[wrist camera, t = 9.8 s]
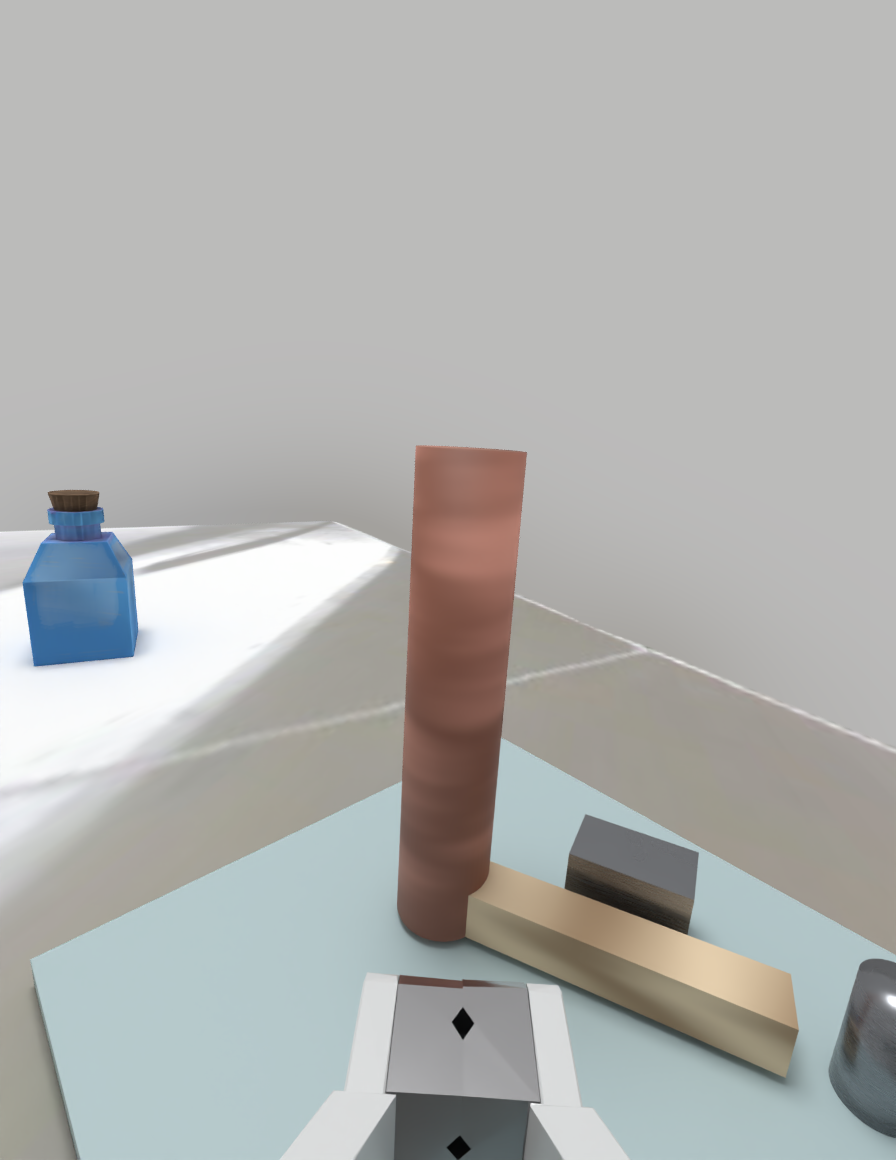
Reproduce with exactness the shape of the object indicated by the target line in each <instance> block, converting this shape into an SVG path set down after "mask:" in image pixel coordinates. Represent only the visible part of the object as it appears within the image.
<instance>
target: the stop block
mask: <svg viewBox="0 0 896 1160" xmlns="http://www.w3.org/2000/svg"><path fill="white" fill-rule="evenodd" d="M698 857H699V852H696V851H693V850H690V849H687V848H684V847H681V846H679V845H676V844H673V843H670V842H667V841H664V840H661V839H658V838H655V837H652V836H649V835H646V834H643V833H640V832H637V831H634V830H631V829H628V828H625V827H622V826H619V825H616V824H614V823H611V822H608V821H605V820H602V819H599V818H596V817H593V816H590V815H587V814H585V816H584V819H583V821H582V823H581V826H580V828H579V831H578V833H577V835H576V838H575V840H574V843H573V845H572V847H571V850H570V852H569V858H568V865H567V873H566V880H565V888H564V889H566V890H569V891H571V892H574V893H577V894H579V895H582V896H585V897H587V898H590V899H593V900H595V901H598V902H601V903H603V904H606V905H609V906H611V907H614V908H617V909H619V910H622V911H625V912H627V913H630V914H633V915H635V916H638V917H641V918H643V919H646V920H649V921H651V922H654V923H656V924H659V925H662V926H664V927H667V928H670V929H672V930H675V931H678V932H680V933H683V934H686V935H687V934H688V929H689V924H690V919H691V914H692V910H693V905H694V899H695V889H696V878H697V868H698Z"/></svg>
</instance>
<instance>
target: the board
mask: <svg viewBox="0 0 896 1160" xmlns="http://www.w3.org/2000/svg"><path fill="white" fill-rule="evenodd" d="M401 795H402V781H401V782H399V783H397V784H395V785H393V786H391V787H389V788H386V789H384V790H382V791H380V792H378V793H376V794H374V795H372V796H370V797H368V798H366V799H364V800H362V801H359V802H357V803H355V804H353V805H351V806H349V807H347V808H345V809H343V810H341V811H339V812H337V813H334V814H332V815H330V816H328V817H326V818H324V819H322V820H320V821H318V822H316V823H314V824H312V825H309V826H307V827H305V828H303V829H301V830H299V831H297V832H295V833H293V834H291V835H289V836H287V837H284V838H282V839H280V840H278V841H276V842H274V843H272V844H270V845H268V846H266V847H264V848H262V849H259V850H257V851H255V852H253V853H251V854H249V855H247V856H245V857H243V858H241V859H239V860H237V861H235V862H232V863H230V864H228V865H226V866H224V867H222V868H220V869H218V870H216V871H214V872H212V873H210V874H207V875H205V876H203V877H201V878H199V879H197V880H195V881H193V882H191V883H189V884H187V885H185V886H182V887H180V888H178V889H176V890H174V891H172V892H170V893H168V894H166V895H164V896H162V897H160V898H157V899H155V900H153V901H151V902H149V903H147V904H145V905H143V906H141V907H139V908H137V909H135V910H133V911H130V912H128V913H126V914H124V915H122V916H120V917H118V918H116V919H114V920H112V921H110V922H108V923H105V924H103V925H101V926H99V927H97V928H95V929H93V930H91V931H89V932H87V933H85V934H83V935H80V936H78V937H76V938H74V939H72V940H70V941H68V942H66V943H64V944H62V945H60V946H58V947H55V948H53V949H51V950H49V951H47V952H45V953H43V954H41V955H39V956H37V957H35V958H33V959H30V961H31V967H32V973H33V979H34V985H35V989H36V993H37V997H38V1001H39V1005H40V1009H41V1014H42V1018H43V1022H44V1026H45V1030H46V1034H47V1038H48V1042H49V1046H50V1050H51V1054H52V1058H53V1062H54V1066H55V1070H56V1074H57V1078H58V1082H59V1086H60V1090H61V1094H62V1098H63V1102H64V1106H65V1110H66V1114H67V1118H68V1122H69V1127H70V1131H71V1135H72V1139H73V1143H74V1147H75V1151H76V1155H77V1159H78V1160H280V1158H281V1157H282V1156H283V1155H284V1153H285V1152H286V1151H287V1149H288V1148H289V1147H290V1146H291V1144H292V1143H293V1142H294V1140H295V1139H296V1138H297V1137H298V1135H299V1134H300V1133H301V1131H302V1130H303V1129H304V1128H305V1126H306V1125H307V1124H308V1122H309V1121H310V1120H311V1119H312V1117H313V1116H314V1115H315V1113H316V1112H317V1111H318V1110H319V1108H320V1107H321V1106H322V1104H323V1103H324V1102H325V1101H326V1099H327V1098H328V1097H329V1095H330V1094H331V1093H332V1092H333V1090H341V1091H344V1087H345V1081H346V1076H347V1070H348V1065H349V1059H350V1054H351V1048H352V1043H353V1037H354V1032H355V1026H356V1021H357V1015H358V1009H359V1004H360V998H361V993H362V987H363V983H364V980H365V977H366V974H367V972H369V973H382V974H394V975H399V976H400V975H408V976H418V977H428V978H439V979H449V980H460V981H462V979H465V980H486V981H506V982H524V983H525V984H526V983H530V984H545V985H558V986H559V988H560V990H561V991H562V996H563V1001H564V1006H565V1012H566V1017H567V1023H568V1028H569V1034H570V1039H571V1045H572V1050H573V1056H574V1061H575V1067H576V1072H577V1078H578V1083H579V1089H580V1094H581V1100H582V1105H583V1107H591V1108H594V1109H595V1111H596V1112H597V1114H598V1115H599V1116H600V1118H601V1119H602V1120H603V1122H604V1123H605V1125H606V1126H607V1127H608V1129H609V1130H610V1132H611V1133H612V1134H613V1136H614V1137H615V1139H616V1140H617V1141H618V1143H619V1144H620V1146H621V1147H622V1148H623V1150H624V1151H625V1153H626V1154H627V1155H628V1157H629V1158H630V1160H896V1138H893V1137H889V1136H886V1135H884V1134H881V1133H879V1132H877V1131H875V1130H874V1129H872V1128H870V1127H869V1126H867V1125H866V1124H864V1123H863V1122H862V1121H860V1120H859V1119H858V1118H857V1117H856V1116H855V1115H854V1114H852V1113H851V1112H850V1111H849V1109H848V1108H847V1107H846V1106H845V1105H844V1104H843V1103H842V1101H841V1100H840V1099H839V1097H838V1096H837V1094H836V1092H835V1091H834V1089H833V1087H832V1084H831V1082H830V1078H829V1073H828V1069H829V1064H830V1061H831V1057H832V1054H833V1051H834V1048H835V1044H836V1041H837V1038H838V1034H839V1031H840V1028H841V1025H842V1021H843V1018H844V1015H845V1011H846V1008H847V1005H848V1002H849V998H850V995H851V992H852V988H853V985H854V982H855V979H856V975H857V972H858V969H859V966H860V964H861V963H862V962H863V961H865V960H868V959H873V958H874V959H885V960H889V961H892V962H895V963H896V955H894V954H892V953H890V952H889V951H887V950H885V949H883V948H881V947H880V946H878V945H876V944H874V943H872V942H871V941H869V940H867V939H865V938H863V937H861V936H860V935H858V934H856V933H854V932H852V931H851V930H849V929H847V928H845V927H843V926H842V925H840V924H838V923H836V922H834V921H833V920H831V919H829V918H827V917H825V916H823V915H822V914H820V913H818V912H816V911H814V910H813V909H811V908H809V907H807V906H805V905H804V904H802V903H800V902H798V901H796V900H795V899H793V898H791V897H789V896H787V895H785V894H784V893H782V892H780V891H778V890H776V889H775V888H773V887H771V886H769V885H767V884H766V883H764V882H762V881H760V880H758V879H757V878H755V877H753V876H751V875H749V874H747V873H746V872H744V871H742V870H740V869H738V868H737V867H735V866H733V865H731V864H729V863H728V862H726V861H724V860H722V859H720V858H719V857H717V856H715V855H713V854H711V853H709V852H708V851H706V850H704V849H702V848H700V847H699V846H697V845H695V844H693V843H691V842H690V841H688V840H686V839H684V838H682V837H681V836H679V835H677V834H675V833H673V832H671V831H670V830H668V829H666V828H664V827H662V826H661V825H659V824H657V823H655V822H653V821H652V820H650V819H648V818H646V817H644V816H643V815H641V814H639V813H637V812H635V811H633V810H632V809H630V808H628V807H626V806H624V805H623V804H621V803H619V802H617V801H615V800H614V799H612V798H610V797H608V796H606V795H605V794H603V793H601V792H599V791H597V790H595V789H594V788H592V787H590V786H588V785H586V784H585V783H583V782H581V781H579V780H577V779H576V778H574V777H572V776H570V775H568V774H567V773H565V772H563V771H561V770H559V769H557V768H556V767H554V766H552V765H550V764H548V763H547V762H545V761H543V760H541V759H539V758H538V757H536V756H534V755H532V754H530V753H529V752H527V751H525V750H523V749H521V748H519V747H518V746H516V745H514V744H512V743H510V742H509V741H507V740H505V739H503V738H501V745H500V756H499V767H498V778H497V789H496V800H495V811H494V822H493V833H492V844H491V856H490V861H491V862H494V863H497V864H499V865H502V866H505V867H507V868H510V869H513V870H515V871H518V872H521V873H523V874H526V875H529V876H531V877H534V878H537V879H539V880H542V881H545V882H547V883H550V884H553V885H555V886H558V887H561V888H563V889H564V888H565V880H566V873H567V865H568V858H569V852H570V850H571V847H572V845H573V843H574V840H575V838H576V835H577V833H578V831H579V828H580V826H581V823H582V821H583V819H584V816H585V814H587V815H590V816H593V817H596V818H599V819H602V820H605V821H608V822H611V823H614V824H616V825H619V826H622V827H625V828H628V829H631V830H634V831H637V832H640V833H643V834H646V835H649V836H652V837H655V838H658V839H661V840H664V841H667V842H670V843H673V844H676V845H679V846H681V847H684V848H687V849H690V850H693V851H696V852H699V857H698V868H697V878H696V889H695V899H694V905H693V910H692V914H691V919H690V924H689V929H688V934H687V935H688V936H691V937H694V938H696V939H699V940H702V941H704V942H707V943H710V944H712V945H715V946H718V947H720V948H723V949H726V950H728V951H731V952H734V953H736V954H739V955H742V956H744V957H747V958H750V959H752V960H755V961H758V962H760V963H763V964H766V965H768V966H771V967H774V968H776V969H779V970H782V971H784V972H787V973H790V974H791V978H792V985H793V992H794V999H795V1006H796V1013H797V1020H798V1027H799V1032H798V1035H797V1039H796V1042H795V1046H794V1050H793V1053H792V1057H791V1060H790V1064H789V1067H788V1071H787V1075H786V1078H785V1077H782V1076H780V1075H778V1074H775V1073H773V1072H771V1071H769V1070H766V1069H764V1068H762V1067H760V1066H757V1065H755V1064H753V1063H750V1062H748V1061H746V1060H744V1059H741V1058H739V1057H737V1056H735V1055H732V1054H730V1053H728V1052H726V1051H723V1050H721V1049H719V1048H716V1047H714V1046H712V1045H710V1044H707V1043H705V1042H703V1041H701V1040H698V1039H696V1038H694V1037H691V1036H689V1035H687V1034H685V1033H682V1032H680V1031H678V1030H676V1029H673V1028H671V1027H669V1026H666V1025H664V1024H662V1023H660V1022H657V1021H655V1020H653V1019H651V1018H648V1017H646V1016H644V1015H641V1014H639V1013H637V1012H635V1011H632V1010H630V1009H628V1008H626V1007H623V1006H621V1005H619V1004H617V1003H614V1002H612V1001H610V1000H607V999H605V998H603V997H601V996H598V995H596V994H594V993H592V992H589V991H587V990H585V989H582V988H580V987H578V986H576V985H573V984H571V983H569V982H567V981H564V980H562V979H560V978H557V977H555V976H553V975H551V974H548V973H546V972H544V971H542V970H539V969H537V968H535V967H532V966H530V965H528V964H526V963H523V962H521V961H519V960H517V959H514V958H512V957H510V956H507V955H505V954H503V953H501V952H498V951H496V950H494V949H492V948H489V947H487V946H485V945H483V944H480V943H478V942H476V941H473V940H471V939H469V938H467V937H464V938H461V939H459V940H455V941H448V942H438V941H432V940H428V939H425V938H422V937H420V936H418V935H416V934H415V933H413V932H412V931H411V930H409V929H408V928H407V927H406V925H405V924H404V923H403V922H402V920H401V918H400V916H399V913H398V909H397V891H398V867H399V843H400V819H401Z"/></svg>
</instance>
